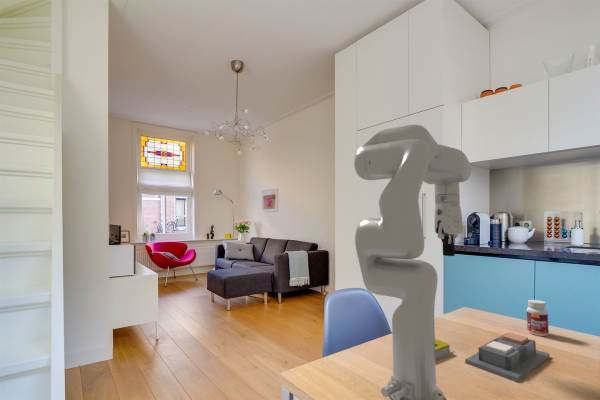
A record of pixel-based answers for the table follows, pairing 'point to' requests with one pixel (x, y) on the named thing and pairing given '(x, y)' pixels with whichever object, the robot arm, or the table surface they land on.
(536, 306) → the pill bottle
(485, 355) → the key panel
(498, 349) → the cream key
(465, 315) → the table surface
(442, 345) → the emergency button
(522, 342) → the terracotta key
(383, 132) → the robot arm
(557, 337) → the table surface
